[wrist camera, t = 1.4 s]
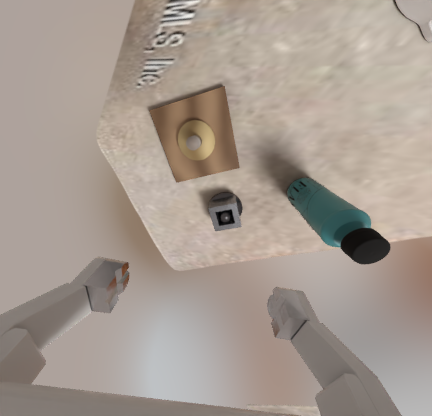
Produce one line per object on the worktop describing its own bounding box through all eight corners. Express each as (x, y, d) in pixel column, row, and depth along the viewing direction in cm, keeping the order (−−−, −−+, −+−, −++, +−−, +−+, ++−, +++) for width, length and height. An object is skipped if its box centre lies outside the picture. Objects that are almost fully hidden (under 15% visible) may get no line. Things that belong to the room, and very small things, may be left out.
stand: (238, 189, 36) (240, 197, 32) (244, 218, 40) (246, 230, 35) (205, 196, 37) (202, 205, 33) (213, 224, 41) (212, 236, 36)
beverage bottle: (294, 170, 33) (370, 220, 16) (321, 180, 34) (423, 241, 16) (278, 196, 36) (327, 264, 19) (303, 206, 37) (374, 279, 19)
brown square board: (224, 87, 28) (224, 78, 22) (239, 166, 34) (241, 174, 28) (152, 111, 30) (135, 107, 25) (177, 180, 36) (169, 190, 31)
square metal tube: (235, 195, 36) (236, 202, 32) (240, 217, 39) (241, 226, 35) (209, 200, 37) (208, 208, 33) (216, 221, 40) (215, 231, 36)
